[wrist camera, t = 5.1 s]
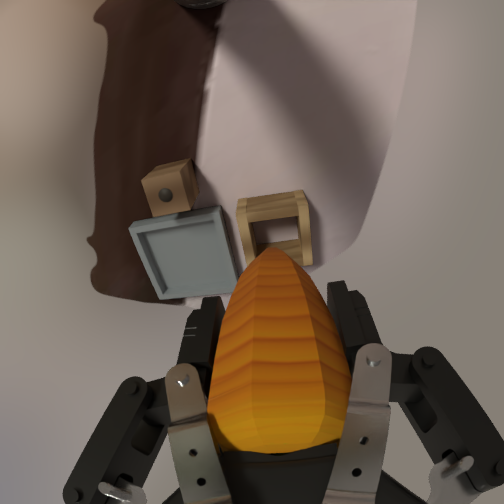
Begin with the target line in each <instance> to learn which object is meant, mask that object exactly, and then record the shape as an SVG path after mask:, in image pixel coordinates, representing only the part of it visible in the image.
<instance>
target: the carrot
mask: <svg viewBox="0 0 504 504" xmlns="http://www.w3.org/2000/svg"><path fill="white" fill-rule="evenodd" d="M351 383H352V377H351V374H350V370H349V366H348V362H347V359H346V357H345V353H344V350H343V346H342V343H341V340H340V337H339V334H338V331H337V328H336V325H335V322H334V319H333V317H332V315H331V313H330V311H329V309H328V307H327V305H326V303H325V301H324V300H323V298H322V296H321V294H320V292H319V291H318V289H317V287H316V286H315V284H314V282H313V281H312V280H311V278H310V276H309V275H308V274H307V273H306V272H305V271H304V270H303V269H302V268H301V267H300V266H299V265H298V264H297V263H296V262H295V261H294V260H293V259H292V258H291V257H290V256H288V255H287V254H286V253H285V252H284V251H282V250H280V249H279V248H277V247H270V248H267V249H266V250H265V251H263V252H262V253H261V254H260V255H259V256H258V257H257V258H255V259H254V260H253V261H252V262H251V263H250V264H249V265H248V267H247V268H246V269H245V271H244V272H243V273H242V274H241V276H240V277H239V280H238V282H237V284H236V286H235V289H234V291H233V293H232V296H231V298H230V301H229V304H228V306H227V309H226V312H225V315H224V317H223V320H222V325H221V330H220V335H219V340H218V345H217V350H216V355H215V360H214V366H213V373H212V379H211V386H210V392H209V399H208V406H207V412H208V415H209V419H210V422H211V426H212V429H213V432H214V434H215V436H216V438H217V441H218V443H219V445H220V447H221V449H222V451H223V452H224V451H252V452H257V453H263V454H268V455H274V456H282V455H286V454H289V453H292V452H295V451H298V450H301V449H306V448H309V447H313V446H319V445H326V444H332V443H337V448H338V446H339V442H340V438H341V432H342V429H343V425H344V420H345V416H346V411H347V406H348V401H349V395H350V389H351Z"/></svg>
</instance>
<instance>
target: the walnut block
mask: <svg viewBox="0 0 504 504" xmlns="http://www.w3.org/2000/svg"><path fill="white" fill-rule="evenodd" d="M141 181H142V184H143V188H144V191H145V194H146V197H147V200H148V203H149V206H150V208H151V211H152V214H153V217H157V216H162V215H167V214H172V213H177V212H182V211H188V210H191V208H192V206H193V204H194V202H195V200H196V198H197V196H198V194H199V188H198V184H197V180H196V176H195V173H194V169H193V165H192V161H191V158H189V159H185V160H180V161H176V162H172V163H168V164H164V165H160V166H157V167H155V168H154V169H153V170H152V171H151V172H150V173H149V174H148V175H147V176H145V177H144V178H143V179H142V180H141Z"/></svg>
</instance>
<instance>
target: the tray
mask: <svg viewBox="0 0 504 504" xmlns="http://www.w3.org/2000/svg"><path fill="white" fill-rule="evenodd" d="M129 231H130V234H131V236H132V238H133V241H134V243H135V246H136V248H137V250H138V253H139V255H140V257H141V260H142V262H143V264H144V267H145V269H146V271H147V273H148V275H149V278H150V280H151V282H152V284H153V286H154V288H155V290H156V293H157V295H158V297H159V299H171V298H182V297H193V296H203V295H213V294H222V293H231V292H233V291H234V289H235V286H236V284H237V282H238V280H239V276H238V272H237V268H236V264H235V260H234V256H233V252H232V248H231V244H230V240H229V236H228V232H227V228H226V224H225V220H224V216H223V212H222V208H221V205H220V206H214V207H208V208H202V209H197V210H191V211H186V212H180V213H175V214H170V215H164V216H159V217H154V218H149V219H145V220H140V221H135V222H133V223H132V225H131V226H130V227H129Z"/></svg>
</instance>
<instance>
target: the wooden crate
mask: <svg viewBox="0 0 504 504" xmlns="http://www.w3.org/2000/svg"><path fill="white" fill-rule="evenodd" d="M292 216H296V218H297V228H298V237H299V239H296V240H288V241H281V242H273V243H266V244H259V245H256V240H255V235H254V230H253V225H252V222H256V221H263V220H270V219H277V218H285V217H292ZM236 219H237V223H238V228H239V232H240V237H241V241H242V245H243V250H244V254H245V259H246V263H247V267H248V265H249V264H250V263H251V262H252V261H253V260H254V259H255V258H257V257H258V256H259V255H260V254H261V253H262V252H263V251H265V250H266V249H267V248H270V247H277V248H279V249H280V250H282V251H284V252H285V253H286V254H287V255H288V256H290V257H291V258H292V259H293V260H294V261H295V262H296V263H297V264H298V265H299V266H307V265H313V261H312V246H311V232H310V219H309V208H308V203H307V200H306V198H305V195H304V193H303V190H298V191H293V192H286V193H279V194H272V195H265V196H258V197H251V198H242V199H238V203H237V210H236Z"/></svg>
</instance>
